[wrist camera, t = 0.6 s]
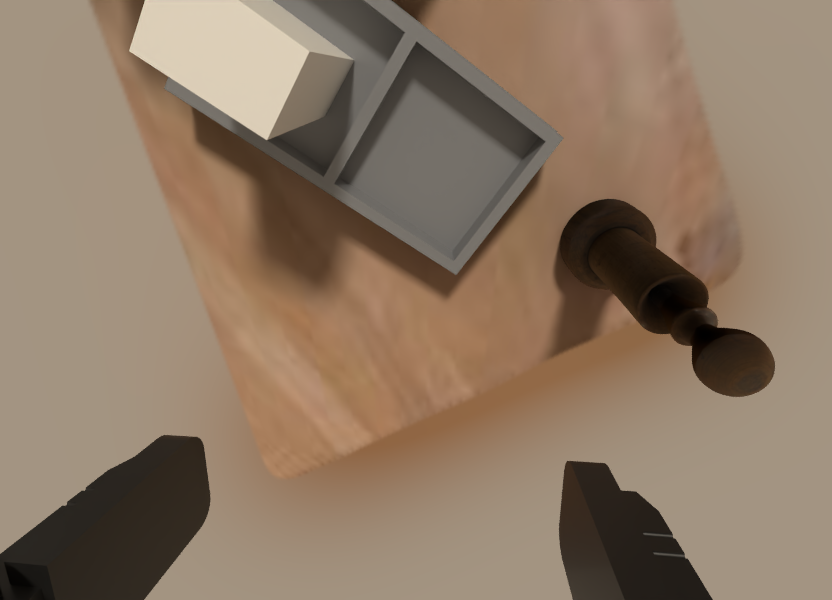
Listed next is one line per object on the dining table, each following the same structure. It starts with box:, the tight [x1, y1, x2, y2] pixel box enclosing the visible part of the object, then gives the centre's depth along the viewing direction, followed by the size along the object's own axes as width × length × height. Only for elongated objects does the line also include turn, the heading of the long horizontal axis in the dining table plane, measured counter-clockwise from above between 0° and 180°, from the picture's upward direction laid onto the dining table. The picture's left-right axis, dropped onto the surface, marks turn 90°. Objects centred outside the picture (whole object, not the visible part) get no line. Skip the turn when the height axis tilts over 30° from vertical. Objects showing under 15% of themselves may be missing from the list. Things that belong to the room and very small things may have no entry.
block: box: [129, 0, 354, 140], centre depth 23 cm, size 6×4×12 cm, turn 56°
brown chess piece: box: [561, 199, 775, 397], centre depth 27 cm, size 7×6×18 cm
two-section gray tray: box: [164, 0, 563, 275], centre depth 29 cm, size 22×12×4 cm, turn 56°
